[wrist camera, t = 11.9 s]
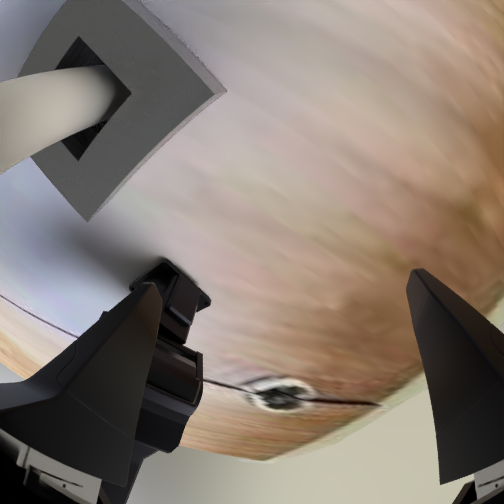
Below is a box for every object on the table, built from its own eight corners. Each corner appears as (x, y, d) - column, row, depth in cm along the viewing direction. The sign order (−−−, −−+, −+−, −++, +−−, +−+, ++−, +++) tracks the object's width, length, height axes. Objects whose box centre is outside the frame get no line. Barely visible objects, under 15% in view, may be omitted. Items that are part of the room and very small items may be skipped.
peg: (110, 129, 17) (-23, 212, 7) (76, 100, 16) (-59, 160, 5) (142, 84, 15) (-11, 129, 5) (105, 54, 14) (-47, 80, 3)
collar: (111, 198, 21) (87, 222, 18) (31, 103, 15) (0, 115, 12) (227, 91, 16) (214, 94, 12) (120, -15, 10) (90, -26, 7)
